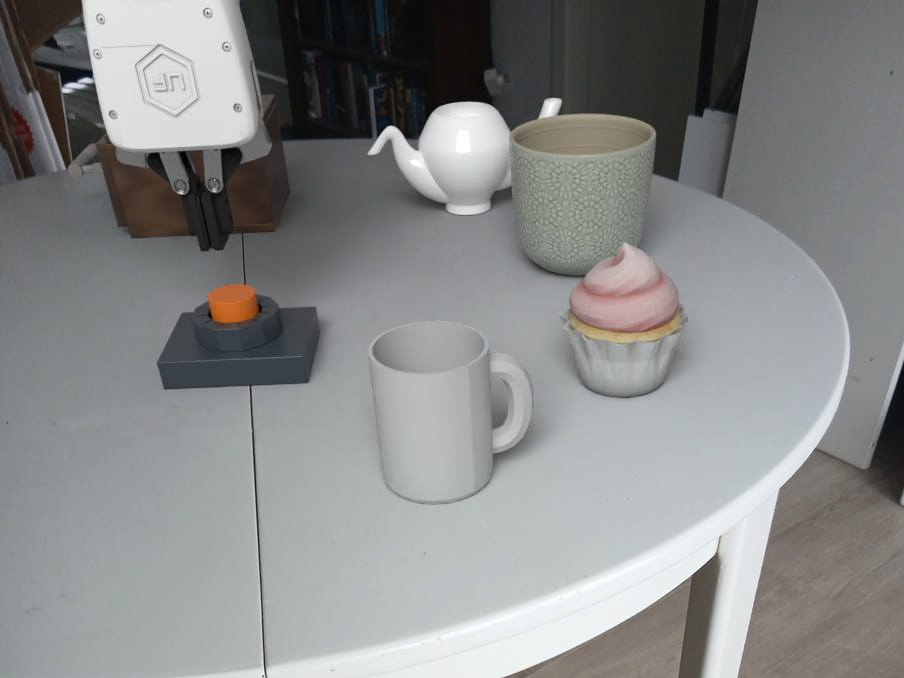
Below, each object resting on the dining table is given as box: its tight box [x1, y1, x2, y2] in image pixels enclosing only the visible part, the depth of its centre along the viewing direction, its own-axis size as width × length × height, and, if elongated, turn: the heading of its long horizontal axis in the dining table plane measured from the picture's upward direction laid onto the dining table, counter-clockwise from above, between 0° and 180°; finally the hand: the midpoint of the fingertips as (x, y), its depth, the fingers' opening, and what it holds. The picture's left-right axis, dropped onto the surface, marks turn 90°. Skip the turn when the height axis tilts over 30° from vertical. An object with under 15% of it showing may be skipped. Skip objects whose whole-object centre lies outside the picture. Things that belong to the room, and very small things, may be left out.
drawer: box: [67, 135, 128, 228], centre depth 101 cm, size 18×11×8 cm, turn 91°
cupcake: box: [558, 242, 692, 398], centre depth 70 cm, size 9×9×10 cm
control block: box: [156, 293, 321, 390], centre depth 77 cm, size 11×9×4 cm
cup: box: [367, 320, 534, 505], centre depth 61 cm, size 7×10×9 cm
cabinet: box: [103, 94, 291, 239], centre depth 101 cm, size 15×13×10 cm
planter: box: [509, 113, 657, 277], centre depth 87 cm, size 12×12×11 cm
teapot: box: [366, 97, 563, 216], centre depth 99 cm, size 10×20×9 cm, turn 105°
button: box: [207, 284, 259, 323], centre depth 75 cm, size 4×4×2 cm
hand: (215, 243), depth 73 cm, fingers closed
